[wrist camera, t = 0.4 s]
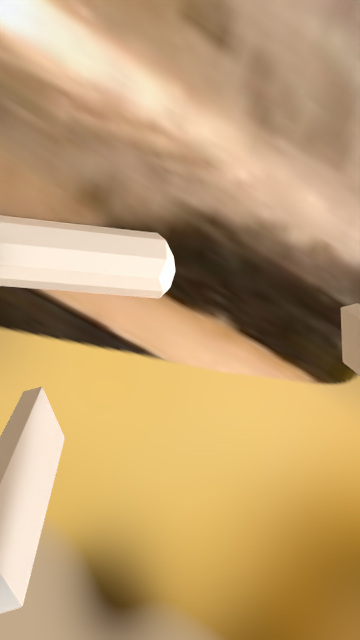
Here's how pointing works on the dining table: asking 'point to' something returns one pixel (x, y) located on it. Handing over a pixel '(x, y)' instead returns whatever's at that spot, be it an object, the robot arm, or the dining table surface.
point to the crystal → (83, 258)
